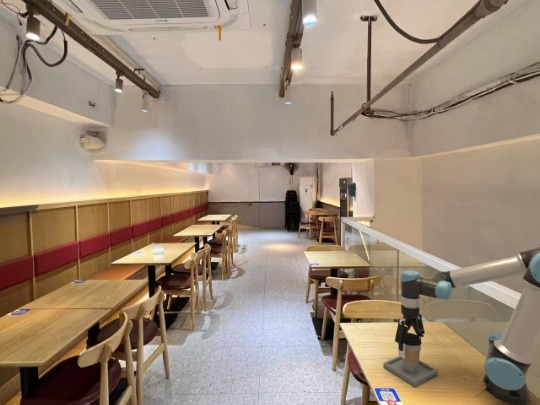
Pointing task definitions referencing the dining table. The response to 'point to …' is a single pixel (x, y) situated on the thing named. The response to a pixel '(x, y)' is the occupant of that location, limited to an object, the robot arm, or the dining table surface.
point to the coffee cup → (411, 353)
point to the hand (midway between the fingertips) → (410, 353)
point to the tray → (414, 379)
